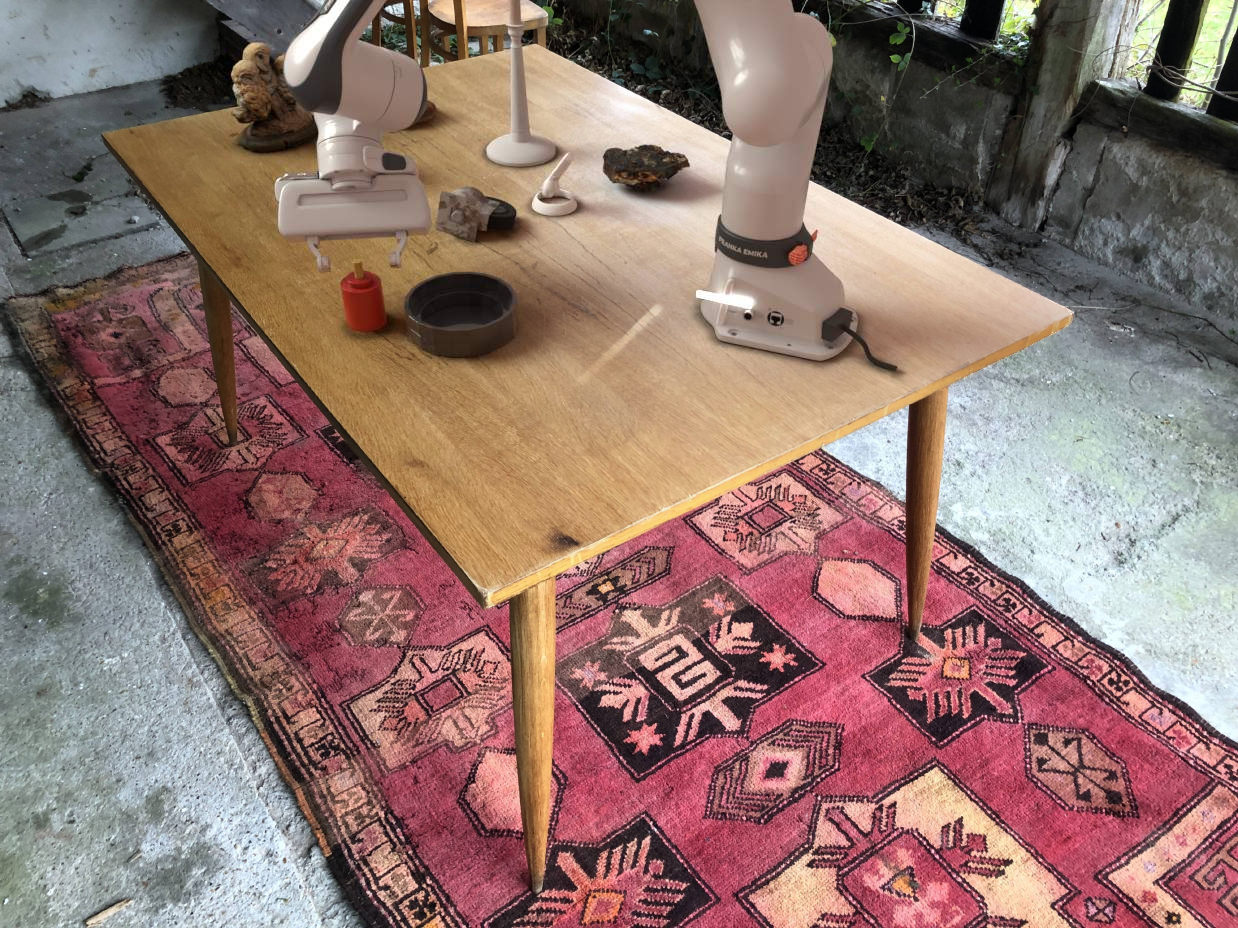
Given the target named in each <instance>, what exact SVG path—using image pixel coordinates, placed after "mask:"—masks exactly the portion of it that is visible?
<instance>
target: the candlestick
mask: <svg viewBox="0 0 1238 928" xmlns="http://www.w3.org/2000/svg"><path fill="white" fill-rule="evenodd" d="M507 2H508V19H509V20H507V21H505V22H504V25H505V26H506V27H507V28H508V29H507V33H508V35H509V36H510V40H511V43H510V45H509V47H510V127H509V129H510V131H509V132H510V133H507V134H503V135H500V136H498V137H496V138H494V139H493V140H491V142H490V143H489V144H488V145H487V146H486V156H487V157H488V159H489V160H490V161H492V162H494V163H496V164H499V165H502V166H507V167H517V168H525V167H534V166H538V165H543V164H544V163H545V164H546V163H547V162H550V161H551V160H552V159H553V158H554V157H555V156H556V153H557V152H556V150H557V149H556V146H555V144H554V143H553V142H552V141H551V140H549V139H548V138H547V137H544V136H542V135H539V134H536V133H531V130H530V128H531V126H530V117H529V105H528V97H527V89H526V88H527V85H526V76H525V63H524V51H523V44H522V36H523V35H524V27H525V26H526V25H527V22H526V21H524V20H522V11H521V0H508V1H507Z"/></svg>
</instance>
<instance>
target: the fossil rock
mask: <svg viewBox="0 0 1238 928" xmlns="http://www.w3.org/2000/svg"><path fill="white" fill-rule="evenodd" d="M602 159H603V164H602V173H603V174H604V175H605V176H606V177H607V179H609V181H610V182H611V183H612V184H619V185H620V184H621V185H622V184H623V185H625V186H626V187H627V188H629V189H631V190H635V191H639V192H644V193H651V192H652V191H654V190H655V189H656V188H661V187H662V183H661V182H660V180H666V181H669V180H671V179H672V178H674V177H675V176H676V175H678V173H679V171H683V169H684V168H690V167H691V164H690V162H689V159H688V158H687V157H686V155H685V154H684V153H680V152H671V151H669V150H664V148H662V146H658V145H656V144H641V145H638V146H634V147H632V148H629V149H623V148H621V147H610V148H607V149H606V150H605V151H604V152H603V155H602Z"/></svg>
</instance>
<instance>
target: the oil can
mask: <svg viewBox="0 0 1238 928" xmlns="http://www.w3.org/2000/svg"><path fill="white" fill-rule="evenodd" d="M351 262H352V267H353V271H352V272H350V273H348V274H347V275H346V276H344V277H343V278H342V279H341V280H340V282H339V286H340V291H341V296H342V302H343V306H344V312H345V313H344V314H345V318H346V323H347V327H348V328H349V329H351V330H352V331H355V332H359V333H368V332H374V331H377V330H379V329H381V328H383V327H384V326H385V325H386V324H387V322H388V317H387V310H386V303H385V297H384V291H383V284H382V278H381V277H380V276H379V275H377V274H376V273H373V272H371V271H369V270H364V267H363V260H362V259H361V258H355V259H353V260H352V261H351Z"/></svg>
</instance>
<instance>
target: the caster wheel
mask: <svg viewBox="0 0 1238 928" xmlns="http://www.w3.org/2000/svg"><path fill="white" fill-rule="evenodd" d="M517 214H518V211H517V209H516V208H515V207H514V205H512V204H511V203H510V202H508V201H505V200H503V199H500V198H497V197H493V196H487V195H485V194H484V193H483V192H482V191H481V190H479V188H477V187H474V186H463V187H460V188H457V189H455V190H454V191H452V192H450V191H447V190H444V189H443V190H440V195H439V201H438V208H437V213H436V220H435V224H434V229H435V230H436V231H438V232H442V233H444V234H448V235H451V236H454V237H457V238H460V239H462V240H467V241H469V242H471V243H472V242H473V243H474V242H476V237H477V231H483V232H487V231H490V232H491V231H492V232H508V231H511V230H512V229H514V227H515V225H516V219H517Z"/></svg>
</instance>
